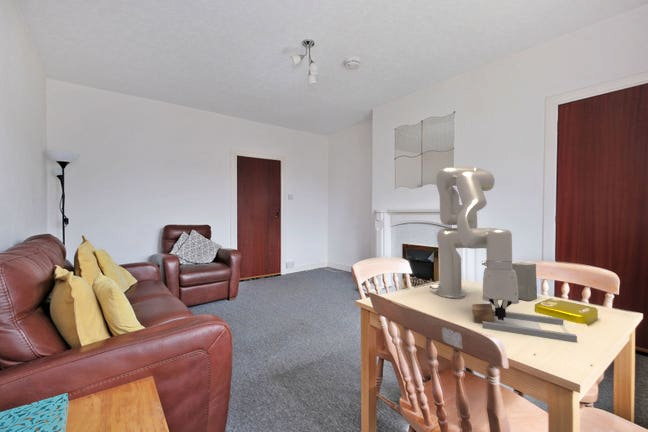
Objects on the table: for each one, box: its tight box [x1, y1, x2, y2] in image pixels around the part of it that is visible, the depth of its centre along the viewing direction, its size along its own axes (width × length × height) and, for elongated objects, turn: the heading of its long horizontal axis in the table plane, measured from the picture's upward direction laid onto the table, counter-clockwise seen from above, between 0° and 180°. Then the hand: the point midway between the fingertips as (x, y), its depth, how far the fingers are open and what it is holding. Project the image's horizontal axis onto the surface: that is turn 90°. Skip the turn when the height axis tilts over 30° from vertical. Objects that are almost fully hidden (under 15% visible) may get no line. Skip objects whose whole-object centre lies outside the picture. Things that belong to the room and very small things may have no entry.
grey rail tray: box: [481, 309, 578, 343], centre depth 95 cm, size 24×15×3 cm, turn 63°
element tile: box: [534, 298, 599, 327], centre depth 105 cm, size 15×15×5 cm
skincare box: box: [512, 261, 538, 302], centre depth 127 cm, size 8×7×16 cm
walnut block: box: [471, 303, 495, 325], centre depth 99 cm, size 6×6×5 cm
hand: (500, 318), depth 97 cm, fingers closed
